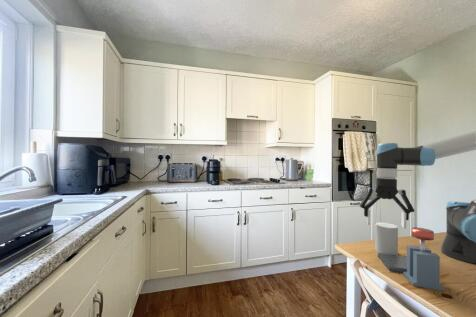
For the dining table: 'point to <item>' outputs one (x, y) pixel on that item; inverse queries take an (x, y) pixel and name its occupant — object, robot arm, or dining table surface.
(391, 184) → the robot arm
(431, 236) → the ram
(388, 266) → the press bed
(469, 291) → the dining table surface
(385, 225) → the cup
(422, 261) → the press frame
